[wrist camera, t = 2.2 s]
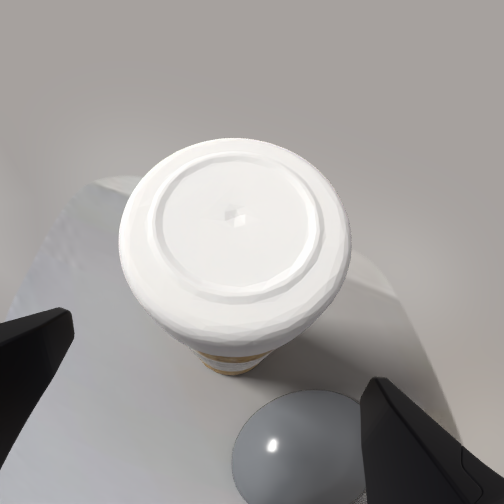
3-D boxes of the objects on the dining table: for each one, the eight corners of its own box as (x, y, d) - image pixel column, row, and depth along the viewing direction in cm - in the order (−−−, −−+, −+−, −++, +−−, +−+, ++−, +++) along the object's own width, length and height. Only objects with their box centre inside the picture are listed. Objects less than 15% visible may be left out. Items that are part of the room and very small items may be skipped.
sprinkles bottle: (217, 290, 19) (205, 107, 7) (282, 326, 18) (384, 187, 6) (178, 351, 17) (66, 253, 5) (245, 390, 16) (293, 399, 4)
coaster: (376, 499, 13) (380, 502, 12) (238, 526, 12) (238, 530, 11) (369, 379, 17) (373, 378, 16) (225, 397, 16) (225, 397, 15)
